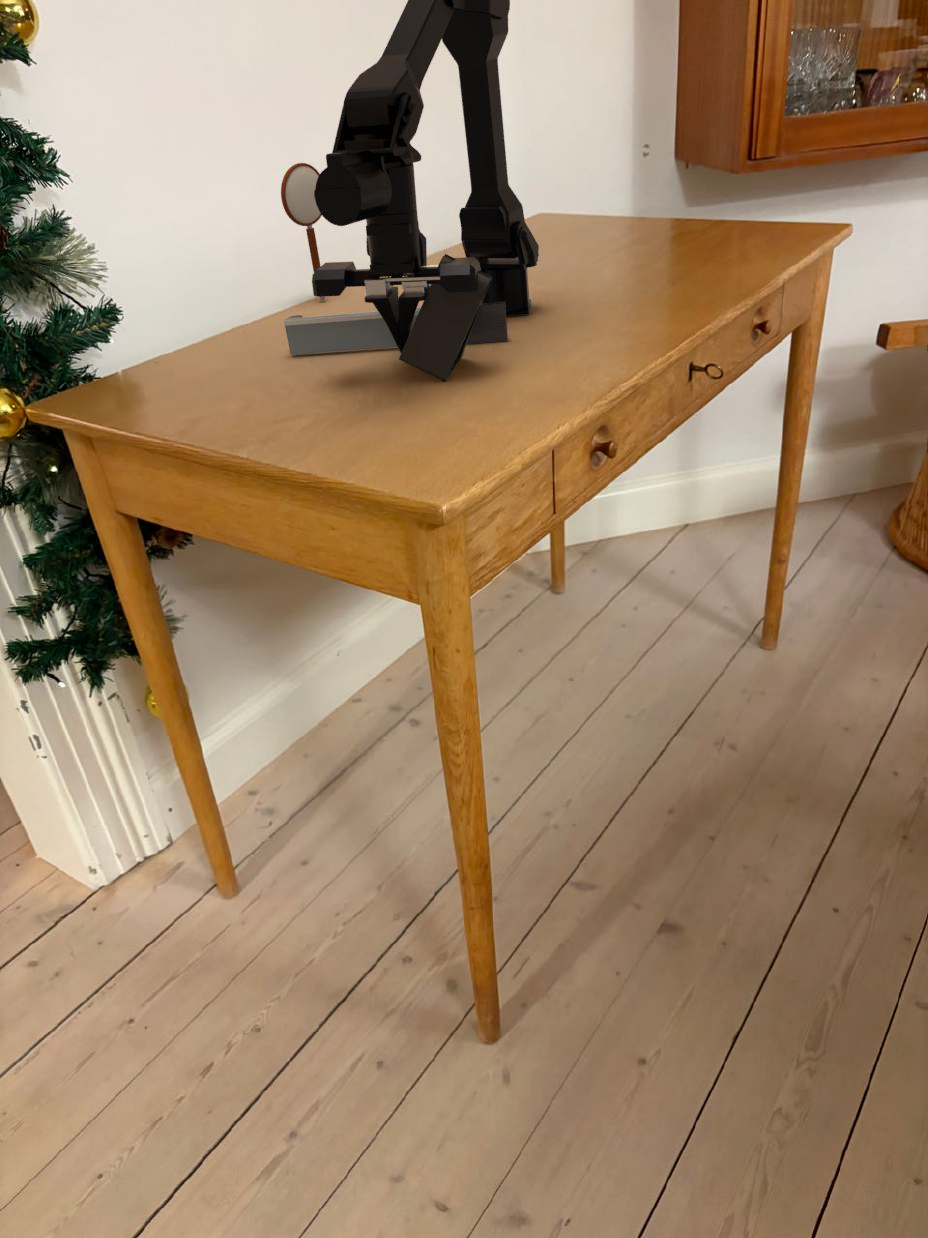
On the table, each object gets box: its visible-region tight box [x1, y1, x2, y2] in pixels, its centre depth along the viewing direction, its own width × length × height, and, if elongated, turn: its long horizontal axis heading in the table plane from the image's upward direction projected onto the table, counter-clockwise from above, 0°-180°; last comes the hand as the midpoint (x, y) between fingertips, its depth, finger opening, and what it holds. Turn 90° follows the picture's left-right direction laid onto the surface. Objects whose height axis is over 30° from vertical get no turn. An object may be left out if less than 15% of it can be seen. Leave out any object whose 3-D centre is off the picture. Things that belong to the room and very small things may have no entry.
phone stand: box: [398, 253, 492, 383], centre depth 115 cm, size 9×6×12 cm, turn 167°
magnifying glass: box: [280, 162, 326, 302], centre depth 149 cm, size 9×2×20 cm, turn 142°
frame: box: [287, 301, 509, 345], centre depth 127 cm, size 29×2×7 cm, turn 79°
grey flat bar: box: [283, 307, 421, 356], centre depth 128 cm, size 18×1×4 cm, turn 84°
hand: (403, 352), depth 117 cm, fingers closed, pressing on phone stand
